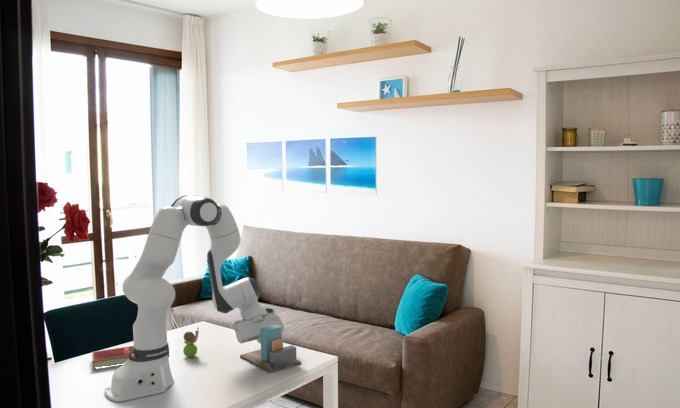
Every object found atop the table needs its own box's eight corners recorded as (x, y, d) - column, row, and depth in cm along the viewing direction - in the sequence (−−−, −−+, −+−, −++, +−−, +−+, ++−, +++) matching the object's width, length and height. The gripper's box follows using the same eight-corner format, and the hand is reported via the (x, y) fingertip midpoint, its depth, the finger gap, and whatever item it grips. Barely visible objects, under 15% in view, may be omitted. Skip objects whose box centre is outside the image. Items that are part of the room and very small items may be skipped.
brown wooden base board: (269, 373, 195) (269, 370, 195) (240, 357, 212) (239, 354, 212) (300, 363, 204) (300, 360, 204) (269, 349, 221) (269, 346, 221)
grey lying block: (274, 369, 196) (274, 353, 196) (270, 367, 198) (269, 351, 198) (296, 362, 203) (296, 347, 202) (292, 360, 205) (291, 345, 204)
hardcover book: (92, 361, 212) (92, 350, 211) (148, 352, 221) (148, 342, 220) (93, 371, 201) (92, 360, 201) (151, 362, 210) (151, 351, 210)
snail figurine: (197, 359, 211) (196, 329, 210) (181, 359, 211) (180, 329, 210) (201, 354, 216) (200, 325, 215) (186, 354, 216) (184, 325, 215)
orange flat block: (274, 363, 201) (274, 342, 201) (272, 361, 203) (271, 341, 202) (293, 357, 207) (293, 337, 206) (291, 356, 208) (290, 336, 208)
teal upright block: (268, 362, 202) (267, 331, 201) (261, 358, 206) (260, 328, 205) (284, 358, 206) (283, 327, 205) (276, 354, 210) (275, 324, 210)
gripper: (233, 317, 207) (247, 348, 200) (277, 307, 220) (291, 336, 213) (228, 326, 210) (241, 357, 204) (272, 316, 223) (285, 344, 217)
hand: (267, 346), depth 208 cm, fingers closed, pressing on teal upright block
